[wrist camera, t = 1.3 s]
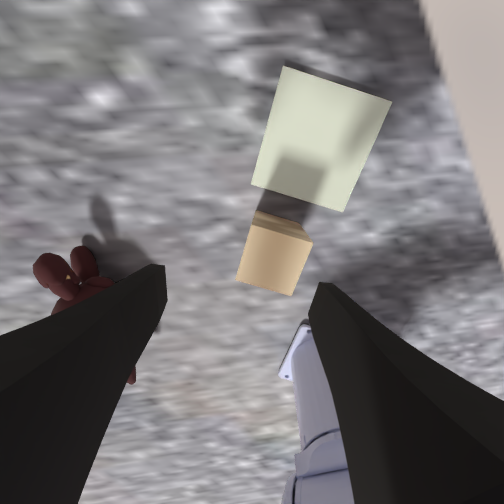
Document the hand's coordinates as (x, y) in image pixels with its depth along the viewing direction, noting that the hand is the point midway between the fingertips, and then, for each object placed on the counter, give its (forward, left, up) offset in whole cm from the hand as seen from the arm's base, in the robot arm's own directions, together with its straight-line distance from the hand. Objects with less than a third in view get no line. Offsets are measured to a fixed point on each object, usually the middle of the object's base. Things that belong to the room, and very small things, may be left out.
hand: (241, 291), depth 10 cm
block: (-2, 0, -10) cm, 10 cm away
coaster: (-3, -8, -10) cm, 13 cm away
